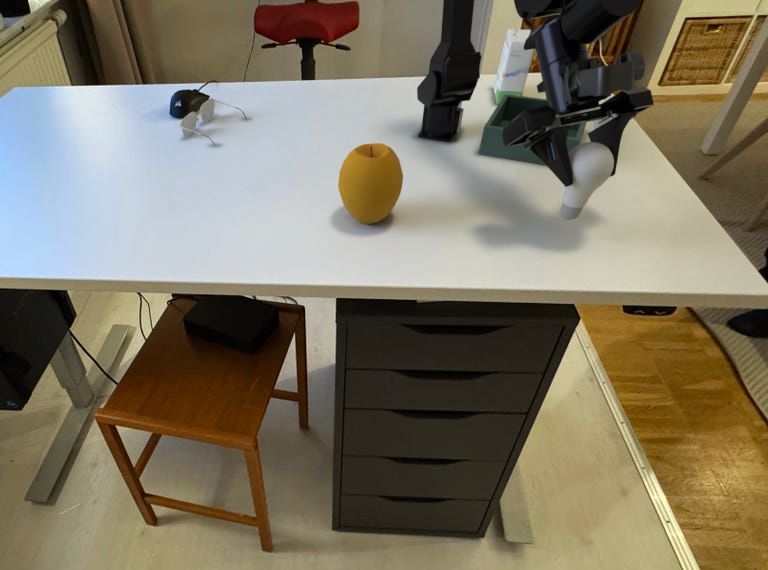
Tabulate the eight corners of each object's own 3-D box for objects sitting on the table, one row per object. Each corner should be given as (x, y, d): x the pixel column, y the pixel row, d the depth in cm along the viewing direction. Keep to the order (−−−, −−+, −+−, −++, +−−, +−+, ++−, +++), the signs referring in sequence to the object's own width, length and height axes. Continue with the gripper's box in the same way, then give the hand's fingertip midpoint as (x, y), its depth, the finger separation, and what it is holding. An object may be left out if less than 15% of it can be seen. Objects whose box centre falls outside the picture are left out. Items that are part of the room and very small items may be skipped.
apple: (373, 194, 91) (377, 124, 82) (413, 219, 85) (422, 146, 76) (326, 214, 87) (325, 143, 79) (364, 241, 81) (368, 167, 73)
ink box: (493, 89, 119) (505, 28, 110) (518, 89, 118) (532, 28, 109) (495, 104, 113) (508, 41, 104) (521, 105, 112) (537, 41, 103)
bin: (478, 154, 98) (484, 126, 95) (499, 120, 108) (504, 94, 104) (570, 169, 93) (579, 140, 89) (583, 132, 102) (592, 104, 98)
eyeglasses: (215, 114, 118) (214, 95, 115) (248, 121, 116) (247, 102, 113) (180, 141, 110) (178, 121, 107) (215, 149, 107) (213, 129, 104)
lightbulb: (592, 212, 78) (622, 137, 70) (589, 234, 75) (620, 158, 67) (548, 204, 80) (572, 131, 72) (542, 226, 77) (567, 151, 69)
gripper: (540, 39, 62) (570, 174, 62) (677, 15, 65) (704, 144, 65) (488, 87, 73) (514, 201, 73) (607, 65, 76) (631, 175, 76)
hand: (590, 181), depth 72 cm, fingers closed on lightbulb, 6 cm apart
